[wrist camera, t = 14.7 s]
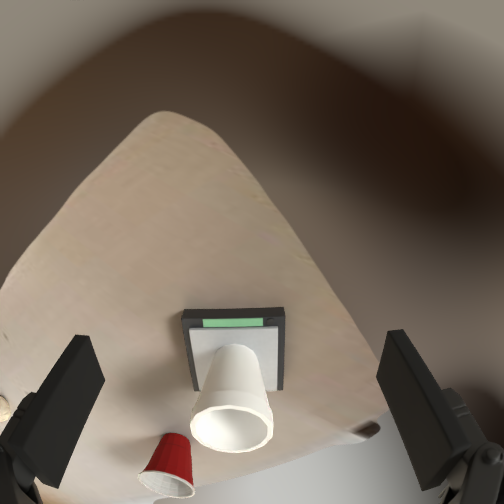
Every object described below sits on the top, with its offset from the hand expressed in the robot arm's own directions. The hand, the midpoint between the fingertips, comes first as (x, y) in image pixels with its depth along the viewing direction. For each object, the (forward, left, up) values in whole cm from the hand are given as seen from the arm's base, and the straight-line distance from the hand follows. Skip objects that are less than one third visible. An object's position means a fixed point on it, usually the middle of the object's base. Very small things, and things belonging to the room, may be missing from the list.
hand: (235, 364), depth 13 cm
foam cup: (+21, -2, -26) cm, 33 cm away
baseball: (+43, -62, -29) cm, 81 cm away
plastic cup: (+46, -16, -29) cm, 57 cm away
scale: (+21, -2, -29) cm, 36 cm away
